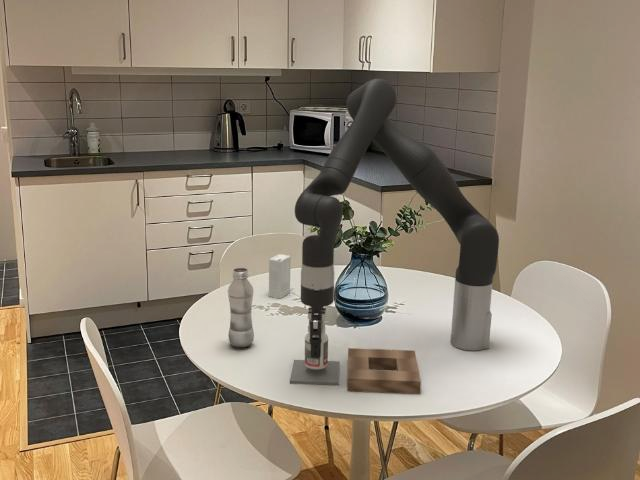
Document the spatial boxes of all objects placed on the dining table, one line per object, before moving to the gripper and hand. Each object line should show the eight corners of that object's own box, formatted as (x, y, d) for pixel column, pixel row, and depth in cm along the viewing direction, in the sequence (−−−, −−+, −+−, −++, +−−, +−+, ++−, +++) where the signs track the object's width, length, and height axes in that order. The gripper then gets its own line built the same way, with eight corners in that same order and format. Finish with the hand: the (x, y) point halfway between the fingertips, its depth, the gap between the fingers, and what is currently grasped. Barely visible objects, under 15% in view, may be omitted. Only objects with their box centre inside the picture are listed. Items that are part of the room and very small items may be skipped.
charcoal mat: (339, 363, 170) (339, 361, 170) (338, 385, 159) (338, 382, 159) (293, 361, 170) (293, 359, 170) (289, 383, 160) (290, 380, 160)
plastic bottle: (254, 339, 182) (254, 265, 177) (253, 350, 176) (252, 274, 170) (229, 339, 182) (228, 265, 177) (227, 350, 176) (225, 274, 170)
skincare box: (278, 290, 218) (278, 253, 215) (290, 293, 216) (291, 255, 213) (267, 296, 213) (267, 258, 209) (280, 299, 211) (280, 260, 207)
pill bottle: (319, 358, 168) (320, 319, 165) (332, 366, 164) (333, 327, 161) (300, 363, 165) (300, 324, 162) (312, 372, 161) (313, 332, 158)
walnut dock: (414, 361, 172) (414, 350, 171) (420, 393, 156) (420, 381, 155) (347, 359, 172) (348, 348, 171) (347, 390, 157) (347, 378, 156)
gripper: (303, 271, 166) (302, 338, 170) (298, 292, 152) (297, 364, 157) (335, 272, 166) (333, 339, 170) (333, 293, 152) (331, 365, 156)
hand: (316, 351), depth 163 cm, fingers closed on pill bottle, 5 cm apart
